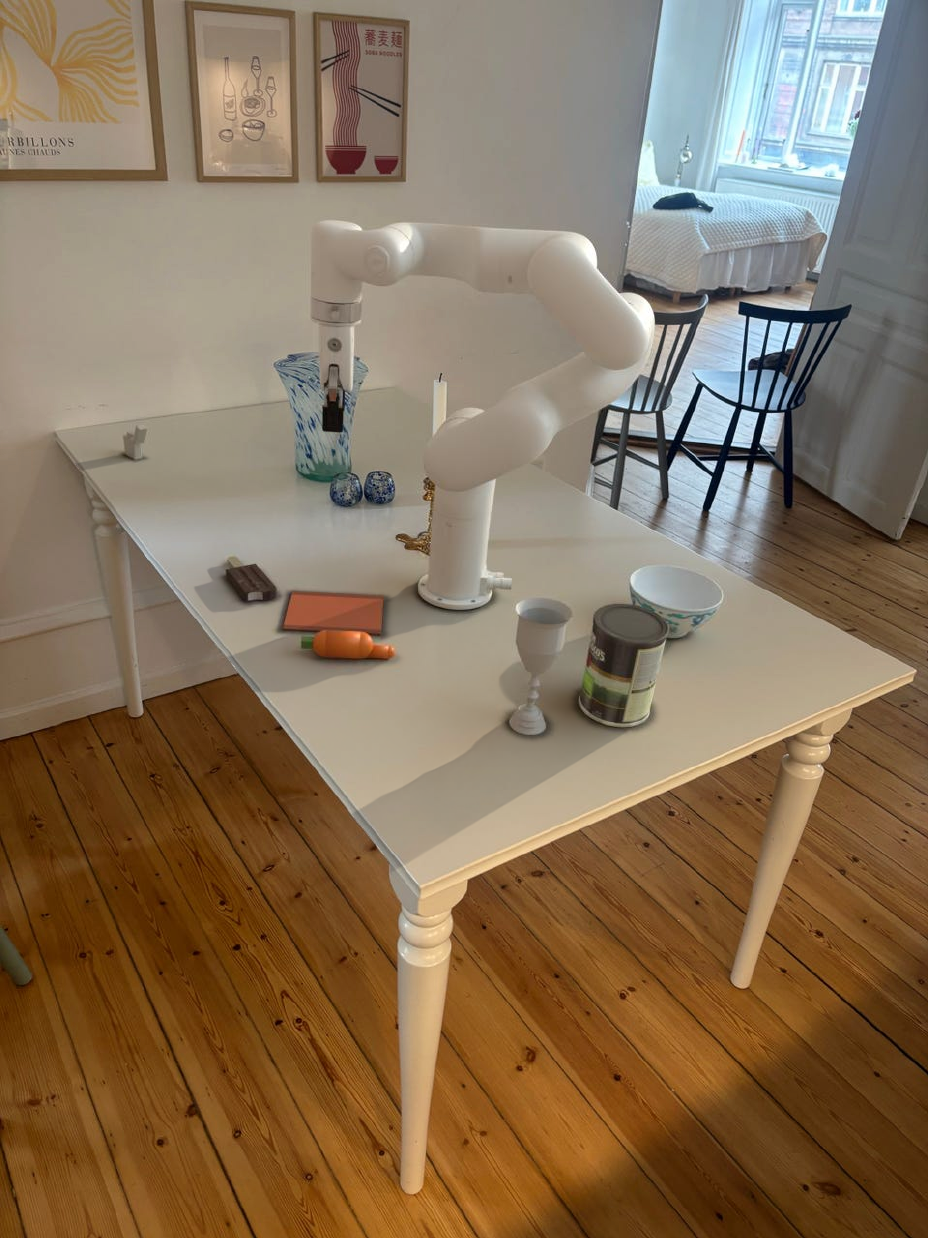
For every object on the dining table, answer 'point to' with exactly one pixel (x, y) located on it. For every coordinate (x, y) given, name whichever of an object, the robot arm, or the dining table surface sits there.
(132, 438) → the white jagged block
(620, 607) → the coffee can
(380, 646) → the carrot
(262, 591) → the ice cream bar
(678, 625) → the chinaware
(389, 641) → the dining table surface
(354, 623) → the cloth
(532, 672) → the chalice
